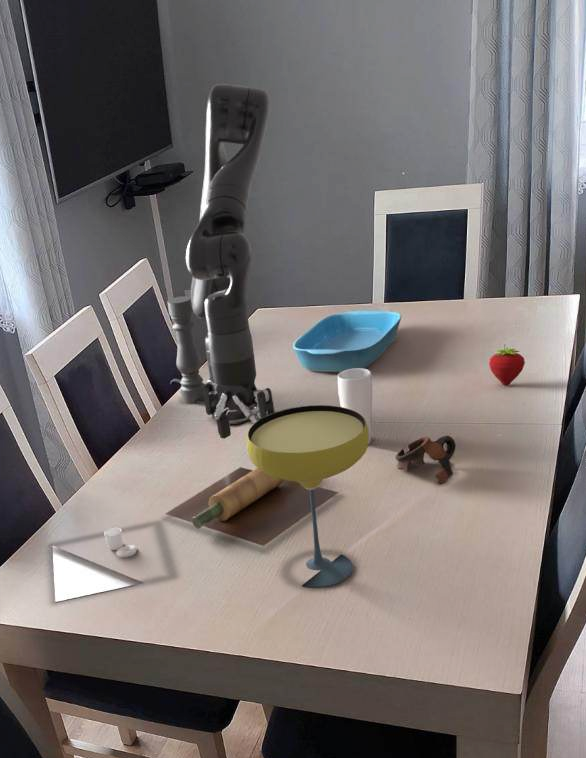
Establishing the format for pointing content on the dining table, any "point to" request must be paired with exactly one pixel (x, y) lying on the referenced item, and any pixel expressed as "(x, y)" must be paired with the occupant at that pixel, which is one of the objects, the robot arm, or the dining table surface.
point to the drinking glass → (356, 392)
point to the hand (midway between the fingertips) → (243, 440)
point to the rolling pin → (237, 497)
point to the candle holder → (186, 350)
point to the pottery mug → (433, 450)
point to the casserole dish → (347, 340)
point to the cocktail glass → (310, 461)
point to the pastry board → (256, 509)
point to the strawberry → (506, 365)
